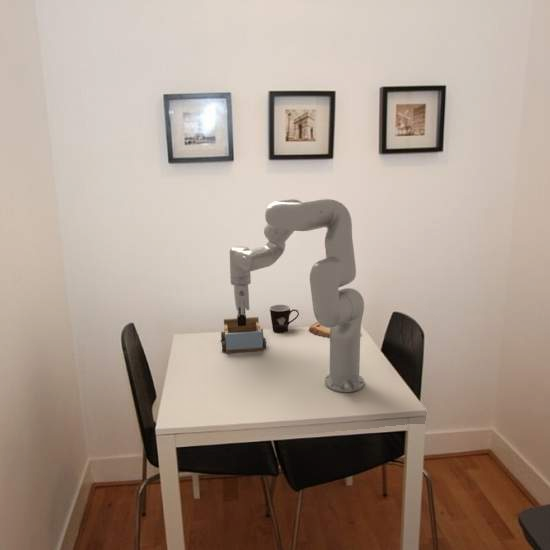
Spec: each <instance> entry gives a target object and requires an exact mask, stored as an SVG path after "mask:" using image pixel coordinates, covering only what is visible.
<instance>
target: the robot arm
mask: <svg viewBox="0 0 550 550" xmlns="http://www.w3.org/2000/svg"><path fill="white" fill-rule="evenodd" d="M264 215H265V217H264V218H265V222H266V223H267V224H266V225H265V226H264V228H263V234H264V236H265V238H266V239H267V240H268V241H267V243H266V244H265V245H264V246H261V247H257V248H252V249H250V248H249V247H248V246H244V245H237V246H233V247H231V248H230V249H229V271H230V272H229V274H230V276H229V277H230V285H232V286H233V294H234V295H233V296H234V304H235V308H236V311H237V315H236V318H237V321H238V326H246V318H247V315H246V311H249V310H250V294H249V293H250V291H249V285H250V284H251V283H252V282H251V281H252V279H251V276H252V275H251V272H255V271H258V270H260V269H264V268H269V267H271V266H273V265H274V264H275V263H276V262H277V261H278V259H280V258H281V256H282V255H283V254H284V252H285V250H286V249H285V248H286V241H287V240H288V239H289V238H290V237H291V235H292V234H293V233H294V232H309V231H314V230H319V229H322V228H326V229H327V231H326V232H325V233H326V234H325V237H324V249H325V258H323V259H320V260H318V261H317V262H315V263H314V264H313V266H312V267H311V270H310V273H309V285H310V294H311V300H312V301H311V302H312V308H313V313H314V314H313V315H314V317H315V319H316V322H319V323H320V324H321V325H322V326H324V327H327V328H330V338H329V374H327V375H326V376H325V377H324V384H325V386H326V387H327V388H328V389H330V390H332V391H334V392H339V393H354V392H357V391H359V390H361V389H362V388H364V386H365V380H364V378H363V377H362V376H361V375H360V365H361V364H360V363H361V362H360V360H361V359H360V358H361V355H360V354H361V333H362V331H361V329H362V321H363V316H364V311H365V300H364V298H363V296H362V294H361V293H360V292H359V291H358V290H357V289H355V288H350V287H346V288H341V287H344V286H347V285H350V283H352V282H353V281H354V280H355V278H356V276H357V267H356V260H355V249H354V241H353V224H352V223H353V222H352V217H351V213H350V212H349V210H348V208H347V207H346V205H344V204H343V203H342V202H340V201H338V200H335V199H330V198H327V199H326V198H325V199H324V198H323V199H317V200H312V201H311V200H310V201H305V202H302V201H300V200H299V199H293V198H291V199H283V200H276V201H273V202H271V203H270V204H269V205H268V206H267V208H266V210H265V214H264ZM340 288H341V289H340Z"/></svg>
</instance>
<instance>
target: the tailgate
mask: <svg viewBox="0 0 550 550" xmlns="http://www.w3.org/2000/svg"><path fill="white" fill-rule="evenodd" d="M263 338H264V337H263ZM263 338H262V331H254V332H240V333H226V349H227V350H232V349H245V348H258V347H263Z"/></svg>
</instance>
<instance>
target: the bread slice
mask: <svg viewBox="0 0 550 550" xmlns="http://www.w3.org/2000/svg"><path fill="white" fill-rule="evenodd" d="M309 331H310V333H311V334H313V335H315V336H317V335H318V337H321V336H322V338H326V337H327V339H330V328H327V327H324V326H322V325H321V324H320V323H319V322H318V321H316V322H314V323H313V324H311V325H310V326H309V328H308V332H309Z"/></svg>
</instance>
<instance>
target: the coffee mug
mask: <svg viewBox="0 0 550 550" xmlns="http://www.w3.org/2000/svg"><path fill="white" fill-rule="evenodd" d="M269 312H270V319H271V327H272V332H274V333H276V334H284V333H287V332H288V331H289V325H290V324H291V323H292V322H294V321H295V320H296V319H298V317H299V315H300V314H299V310H298V309H292V310H291V306H290V305H288V304H287V305H286V304H274V305H271V306H270V307H269ZM292 312H296V313H297V315H296V316H295V317H294V318H293V319H291V320H290V316H291V314H292Z"/></svg>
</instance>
